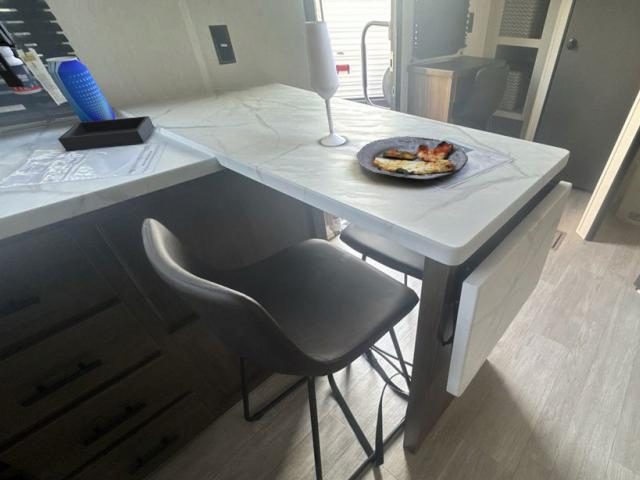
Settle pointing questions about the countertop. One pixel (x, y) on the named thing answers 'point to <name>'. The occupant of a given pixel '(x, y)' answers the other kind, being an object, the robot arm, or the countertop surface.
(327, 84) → the champagne flute
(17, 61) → the pill bottle
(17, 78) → the robot arm
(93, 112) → the beer can
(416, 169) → the food plate
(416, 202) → the countertop surface
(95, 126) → the tray
